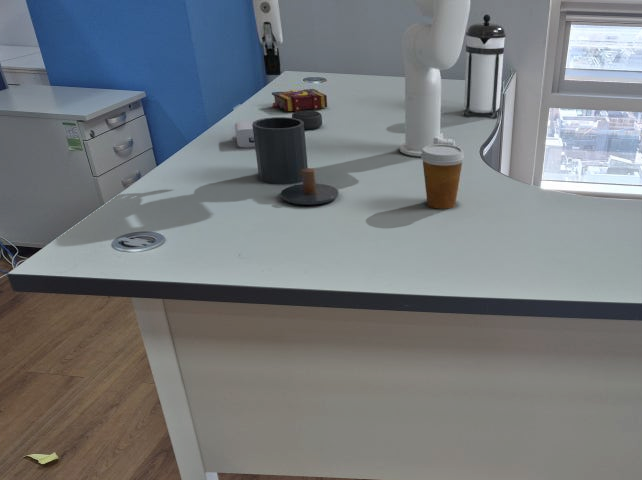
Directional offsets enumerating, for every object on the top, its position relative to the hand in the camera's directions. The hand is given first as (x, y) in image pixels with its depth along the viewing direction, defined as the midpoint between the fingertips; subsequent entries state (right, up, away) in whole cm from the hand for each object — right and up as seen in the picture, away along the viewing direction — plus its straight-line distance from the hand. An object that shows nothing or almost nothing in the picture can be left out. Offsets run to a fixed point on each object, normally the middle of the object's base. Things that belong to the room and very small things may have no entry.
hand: (273, 70), depth 149 cm
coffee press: (+51, +18, +74) cm, 91 cm away
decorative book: (-11, +19, +71) cm, 75 cm away
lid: (+9, -29, -3) cm, 31 cm away
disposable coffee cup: (+38, -31, -3) cm, 50 cm away
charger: (-15, -4, +36) cm, 39 cm away
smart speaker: (-3, +5, +50) cm, 51 cm away
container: (0, -21, +9) cm, 23 cm away
